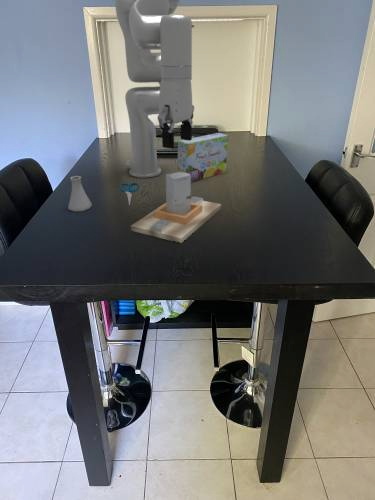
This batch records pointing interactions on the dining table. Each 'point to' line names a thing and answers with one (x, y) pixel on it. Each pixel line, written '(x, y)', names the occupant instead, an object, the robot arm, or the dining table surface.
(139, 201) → the dining table surface
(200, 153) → the snack box
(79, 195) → the flask
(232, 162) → the dining table surface
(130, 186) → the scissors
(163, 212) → the board
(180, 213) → the skincare box
